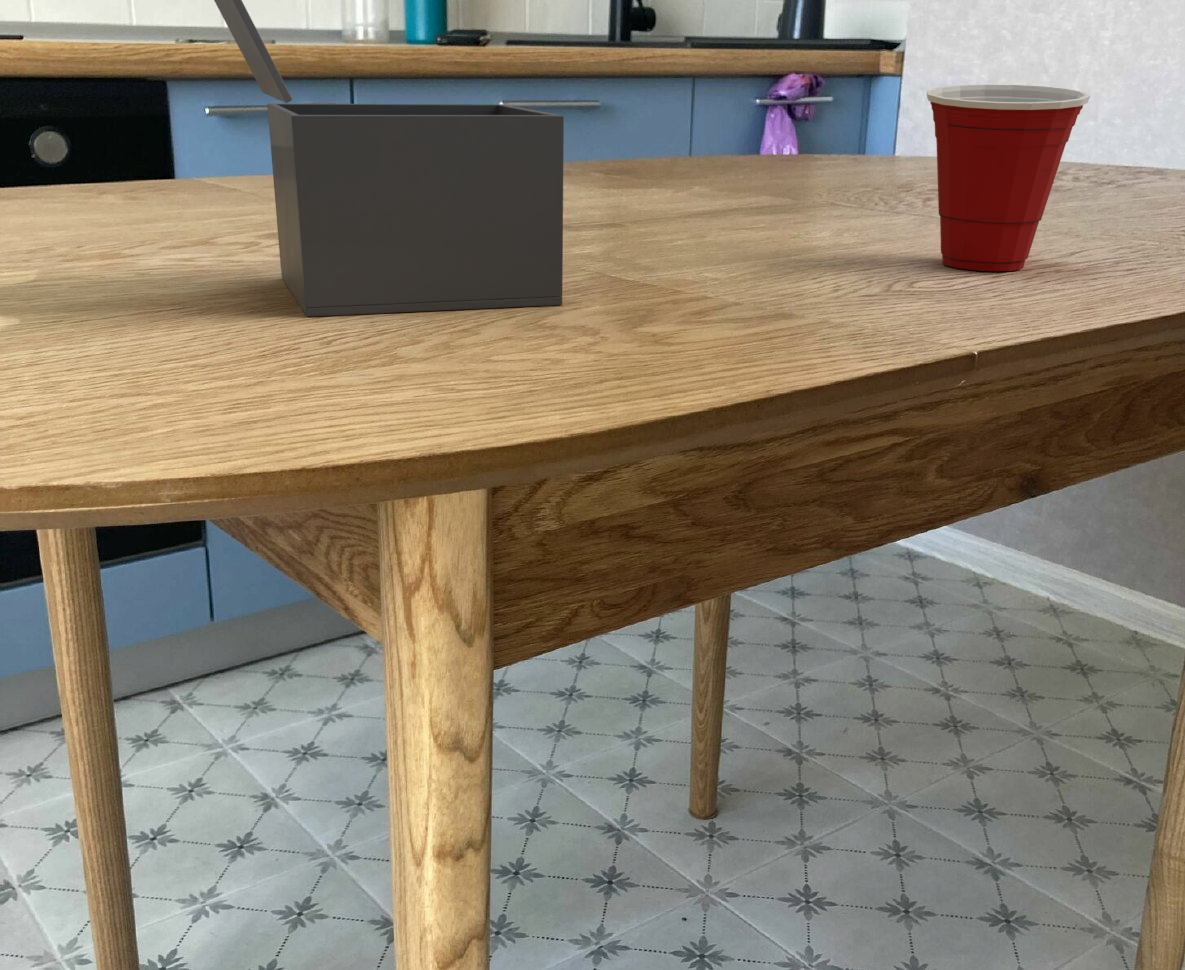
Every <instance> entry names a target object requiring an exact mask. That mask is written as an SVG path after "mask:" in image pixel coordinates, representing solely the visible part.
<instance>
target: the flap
mask: <svg viewBox="0 0 1185 970" xmlns="http://www.w3.org/2000/svg"><path fill="white" fill-rule="evenodd" d="M213 1H214V3H215V5H216V7H217V9H218V11H219V12H220V15H221V16H222V18H223V21H224V22H225V24H226V26H227V28H228V30H229V32H230V33H231V35H232V37H233V39H234V42H235V43H236V45H237V46H238V48H239V50H240V53H241V54H242V57H243V58H244V60H245V62H246V64H247V66H248V68H249V70H250V72H251V73H252V76H253V77H254V79H255V81H256V83H257V85H258V87H259V89H260V90H261V93H262V94H265V95H267V96H268V97H271V98H274V99H276V100H277V101H281V102H282V103H284V104H289V102H291V101H293V97H292V95H291V93H290V92H289V89H288V87H287V85H286V84H285V82H284V79H283V78H282V76H281V74H280V72H279V69H278V68H277V66H276V64H275V62H274V60H273V58H272V56H271V54H270V52H269V51H268V49H267V46H266V45H265V43H264V41H263V39H262V37H261V35H260V33H259V31H258V29H257V27H256V25H255V23H254V21H253V19H252V17H251V15H250V13H249V12H248V10H247V7H246V6H245V4H244V2H243V0H213Z"/></svg>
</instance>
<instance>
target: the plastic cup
mask: <svg viewBox="0 0 1185 970" xmlns="http://www.w3.org/2000/svg"><path fill="white" fill-rule="evenodd" d="M926 98H927V101H928V102H930V105H931V110H932V120H933V123H934V137H935V140H936V166H937V167H936V172H937V174H936V175H937V202H938V203H937V204H938V206H937V207H938V216H939V228H940V231H939V233H940V253H941V257H942V258H941V259H942V264H943V265H945V266H947V267H950V268H957V269H961V270H971V271H979V272H980V271H981V272H1012V271H1019V270H1022V269H1024V266H1025V263H1026V261H1027V260H1028V258H1029V255H1030V251H1031V249H1032V245H1033V243H1034V239H1035V237H1036V233H1037V229H1038V227H1039V223H1040V222H1041V221H1042V218H1043V215H1044V213H1045V210H1046V207H1047V203H1048V200H1049V197H1050V194H1051V191H1052V188H1053V185H1054V182H1055V178H1056V176H1057V173H1058V169H1059V166H1060V164H1061V160H1062V157H1063V154H1064V151H1065V148H1066V144H1067V143H1068V142H1069V140H1070V137H1071V133H1072V130H1073V128H1074V126H1076V122H1077V119H1078V116H1079V115H1080V114H1081V110H1083V107H1084V105H1086V104H1088V103H1089V100H1090V98H1091V95H1090V94H1088V93H1087V92H1085V91H1081V90H1076V89H1070V88H1063V87H1052V86H1045V85H1043V86H1041V85H1021V84H966V85H965V84H964V85H963V84H962V85H951V86H949V85H948V86H941V87H935V88H932V89H928V90H926Z"/></svg>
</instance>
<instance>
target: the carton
mask: <svg viewBox="0 0 1185 970" xmlns="http://www.w3.org/2000/svg"><path fill="white" fill-rule="evenodd" d="M266 105H267V117H268V118H267V119H268V129H269V143H270V154H271V165H272V178H273V190H274V202H275V213H276V214H275V216H276V228H277V238H278V249H279V252H278V253H279V262H280V275H281V278H282V280H283V282H284V283H285V285H286V287H287V288H288V290H289V291H290V293H291V294H292V296H293V297H294V299H295V301H296V303H298V305H299V307H300V308H301V310H302V311H303V313H304V315H305V317H308V318H310V317H311V318H313V317H332V316H333V317H335V316H354V315H355V316H356V315H374V314H375V315H377V314H396V313H416V312H417V313H419V312H438V311H441V312H442V311H461V310H463V311H464V310H483V309H502V308H505V309H507V308H525V307H547V306H549V307H550V306H562V305H563V277H564V275H563V268H564V267H563V262H564V260H563V258H564V256H563V255H564V253H563V252H564V148H565V147H564V146H565V145H564V140H565V139H564V136H565V135H564V134H565V133H564V132H565V129H564V128H565V125H564V124H565V116H564V115H561V114H557V113H552V112H546V111H540V110H537V109H536V110H535V109H530V108H524V107H519V106H514V105H510V104H503V103H500V104H499V103H498V104H497V103H492V104H491V103H275V102H274V103H270V102H269V103H267V104H266Z"/></svg>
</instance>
